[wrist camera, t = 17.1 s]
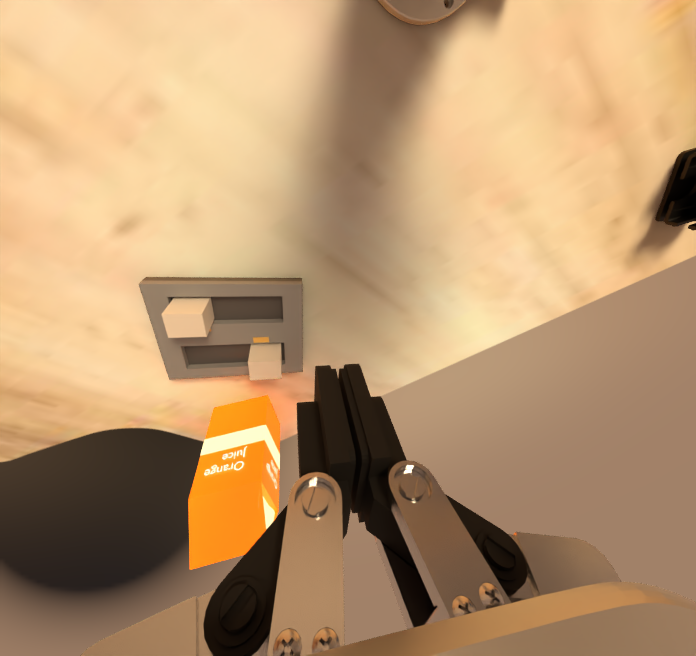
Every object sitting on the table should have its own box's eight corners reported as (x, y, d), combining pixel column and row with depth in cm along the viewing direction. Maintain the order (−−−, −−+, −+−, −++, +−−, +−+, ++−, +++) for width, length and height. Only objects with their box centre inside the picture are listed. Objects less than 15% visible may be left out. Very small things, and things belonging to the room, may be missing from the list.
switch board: (301, 278, 37) (302, 284, 35) (301, 363, 44) (302, 372, 42) (146, 277, 33) (138, 284, 31) (174, 370, 40) (169, 380, 39)
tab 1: (210, 296, 35) (201, 313, 31) (214, 318, 36) (206, 336, 33) (174, 297, 34) (161, 314, 30) (180, 318, 35) (168, 337, 32)
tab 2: (281, 341, 40) (280, 360, 36) (281, 358, 41) (281, 378, 38) (251, 342, 39) (247, 362, 35) (253, 360, 41) (250, 380, 37)
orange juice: (280, 424, 50) (278, 560, 34) (230, 437, 50) (203, 582, 33) (267, 394, 46) (258, 532, 29) (212, 407, 45) (170, 556, 29)
